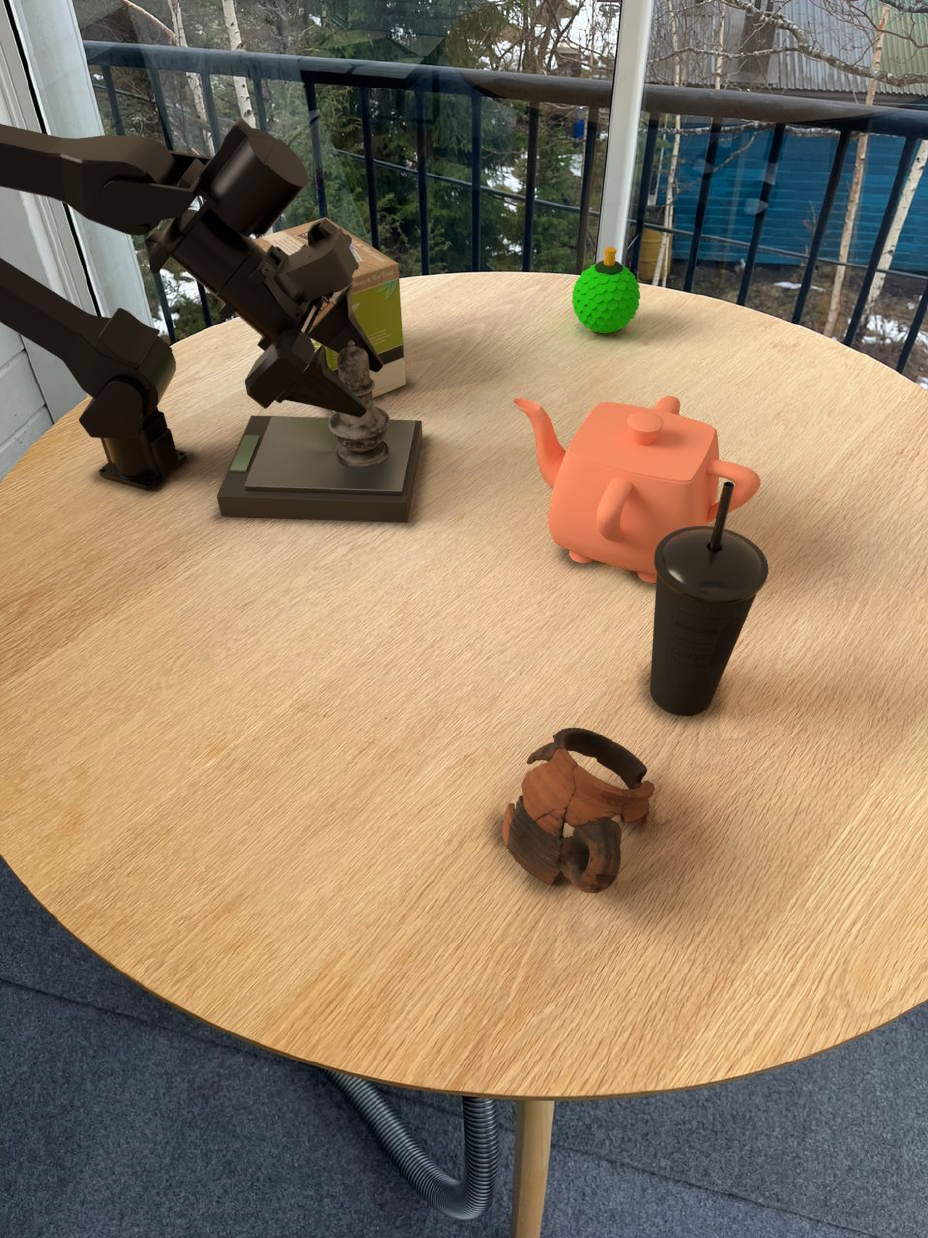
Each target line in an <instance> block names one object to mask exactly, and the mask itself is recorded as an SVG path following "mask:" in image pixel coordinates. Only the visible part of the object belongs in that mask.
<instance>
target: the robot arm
mask: <svg viewBox="0 0 928 1238" xmlns="http://www.w3.org/2000/svg"><path fill="white" fill-rule="evenodd" d="M309 179H310V176H309V174H308V171H307V169H306V167H305V165H304V163H303V161H302V160H301V159H300V157H299V156H298V155H297V154H296V152H295V151H294V150H293V149H292V148H291V147H290V146H289V145H288V144H287V143H286V142H285V141H284V140H283V139H282V138H279V139H277V138H276V137H275V136H274V135H272V134H270V133H269V132H267V131H265V130H262V129H260V128H255V127H252V126H251V125H250V124H249V123H248V122H247V121H246V120H245V119H244V118H242V117H241V118H238V119H237V120H236V121H235V122H234V124H232V126H231V128H230V129H229V131H228V132H227V134H226V135H225V136H224V139H223V140H222V144H221V146H220V147H219V149H218V150H217V151H216V152H215V153H214V155H213V156H207V155H200V154H194V153H187V152H182V151H176V150H170V149H169V150H168V147H167V146H165V145H164V144H163V143H161V142H159V141H158V140H156V139H153V138H151V137H148V136H141V135H140V136H137V135H116V134H115V135H114V134H103V135H96V136H88V137H77V138H75V137H60V136H56V135H51V134H48V133H43V132H39V131H34V130H29V129H25V128H21V127H16V126H12V125H7V124H3V123H0V188H5V189H9V190H14V191H18V192H23V193H28V194H31V195H37V196H41V197H45V198H50V199H53V200H55V201H58V202H61V203H62V204H65V205H67V206H69V207H70V208H72V209H73V210H74V211H75V212H77V213H78V214H79V215H81V216H82V217H84V218H85V219H86V220H88V221H91V222H93V223H96V224H99V225H101V226H103V227H107V228H109V229H111V230H113V231H117V232H120V233H122V234H125V235H128V236H145V235H147V234H148V233H150V234H149V235H148V236H147V237H146V238H145V239H144V245H145V247H146V249H147V250H146V251H147V255H148V265H149V267H148V268H149V272H150V273H151V274H152V275H153V274H154V275H158V274H159V273H160V271H161V270H162V269H164V267H165V266H166V264H167V263H168V262H169V260H170V259H171V260H172V261H174V263H176V264H177V265H178V266H179V267H180V268H181V269H183V270H184V271H185V272H186V273H188V274H189V275H190V276H191V277H192V278H193V279H195V281H197V282H198V283H199V284H200V285H202V286H203V288H205V289H206V290H207V291H208V292H210V293H211V294H212V295H213V296H215V298H216V299H218V300H219V301H220V302H221V303H222V304H223V305H222V307H221V308H220V310H219V311H218V313H219V314H220V315H221V316H222V317H224V318H225V319H226V320H227V321H230V319H232V318H233V316H234V315H236V316H238V317H239V318H240V319H241V320H242V321H243V322H244V323H245V324H247V325H248V326H249V327H250V328H251V329H253V330H254V331H255V332H256V333H257V334H259V336H261V337H260V339H259V341H258V343H257V346H258V347H259V348H260V349H261V350H262V351H263V353H261V354H260V355H259V357H258V358H257V359H256V360H255V362H254V363H253V365H252V367H251V368H250V370H249V372H248V374H247V375H246V377H245V379H244V385H245V392H246V396H248V397H249V398H250V399H252V400H253V401H254V402H255V403H256V404H258V405H259V406H261V408H263V409H264V410H266V409H268V408H269V407H270V406H271V405H272V404H273V403H274V401H275V402H277V403H278V404H282V403H283V402H284V401H287V402H291V403H298V404H302V405H308V406H312V407H317V408H321V409H324V410H325V409H326V410H328V411H332V412H333V411H336V412H339V413H343V414H347V415H351V416H354V417H358V418H360V417H362V416H363V415H364V414H365V413H366V412H367V408H366V406H365V405H364V404H363V403H362V402H361V400H360V399H359V398H358V397H357V396H356V395H355V394H354V393H353V392H352V391H351V390H350V389H349V388H348V386H347V385H346V384H345V383H344V382H343V381H342V380H341V379H340V378H339V377H338V376H337V375H336V374H335V373H334V372H333V371H332V370H331V369H330V368H329V366H328V363H327V357H326V351H325V346H326V347H328V348H330V349H331V350H333V351H335V352H337V353H339V352H340V351H341V350H343V349H344V348H346V347H349V345H347V343H348V342H349V341H350V340H352V341H353V342H354V343H355V345H354V346H356V347H360V348H362V349H364V350H365V351H366V353H367V355H368V360H369V370H371V371H373V372H376V373H377V372H379V371H380V370H381V369H382V368H383V362H382V360H381V359H380V357H379V356H378V354H377V352H376V351H375V349H374V347H373V346H372V344H371V342H370V341H369V339H368V338H367V336H366V334H365V333H364V331H363V329H362V328H361V326H360V324H359V322H358V321H357V319H356V317H355V315H354V313H353V309H352V291H353V286H352V284H351V282H352V280H353V277H352V276H353V274H354V271H355V270H357V269H358V267H359V264H358V263H357V261H356V259H355V257H354V255H353V254H352V252H351V250H350V248H349V247H350V245H351V243H352V238H351V237H350V236H349V235H347V234H344V233H343V231H342V229H341V228H339V229H338V228H337V227H336V226H334V225H333V224H332V223H331V222H329V221H328V220H327V219H325V218H326V217H323V218H324V219H322V218H321V219H322V220H320V221H318V222H316V223H314V224H312V225H311V227H310V229H309V231H308V232H307V237H308V246H307V245H306V244H305V245H303V246H302V247H301V249H300V250H299V251H297V252H295V253H293V254H291V255H288V254H286V253H285V252H284V251H283V250H282V249H281V248H279V247H277V246H276V247H274V246H273V245H271V246H270V248H269V249H268V250H267V251H266V252H265V251H264V250H263V249H262V248H261V247H260V246H259V245H258V244H256V243H255V242H254V241H253V240H252V239H253V238H251V237H250V236H251V235H252V234H253V235H258V236H265V234H267V233H268V232H269V231H270V230H271V229H272V227H273V226H274V225H275V223H277V222H278V220H279V219H280V218H281V217H282V215H284V213H285V212H286V211H287V209H288V208H289V207H290V206H291V205H292V204H293V203H294V201H295V200H296V199H297V198H298V196H299V195H300V194H301V193H302V192H303V190H304V189H305V188H306V187H307V186H308V184H309ZM197 197H201V198H202V199H203V200H204V202H203V203H202V204H201V206H200V207H199V209H198V210H197V209H193V208H190V207H191V205H192V204H193V203H194V201H195V200H196V198H197ZM171 219H172V220H171ZM166 220H171V222H170V223H169V224H168V226H166V228H165V229H164V230H154V229H156V228H157V227H158V226H159V225H160V224H161V222H162V221H166ZM343 289H344V291H343V292H342V293H341V292H340V291H341V290H343ZM0 323H1V324H2V325H3V326H6V327H7V328H9V329H10V330H12V331H13V332H15V333H16V334H19V335H20V336H21V337H23V338H25V339H27V340H28V341H31V342H32V343H33V344H35V345H36V346H38V347H40V348H41V349H43V350H45V351H47V353H49V354H51V355H53V356H54V357H56V358H58V359H59V360H60V361H61V362H62V363H63V364H64V365H65V366H66V368H67V370H68V371H69V373H70V374H71V375H72V377H73V378H74V379H75V381H76V382H77V384H78V385H79V387H80V389H81V390H82V391H83V392H84V393H86V394H87V395H88V396H90V397H91V399H90V401H89V402H88V404H87V406H86V407H85V408H84V410H83V412H82V413H81V415H80V416H79V418H78V422H79V424H80V425H81V426H82V428H83V429H84V430H85V432H86V433H87V435H88V436H89V437H90V438H92V439H99V440H100V442H101V444H102V448H103V451H104V455H105V456H106V460H107V463H105V465H103V466H102V467H100V468H99V469H98V475H99V476H100V477H102V478H105V479H109V480H111V481H115V482H118V483H122V484H125V485H129V486H132V487H136V488H138V489H142V490H145V491H147V490H148V491H150V490H153V489H154V488H155V487H156V486H157V485H158V484H160V483H161V482H162V481H163V480H164V479H165V478H166V477H167V476H168V475H170V474H171V473H172V472H173V471H174V470H175V469H176V468H178V467H179V466H180V465H181V464H182V463H183V462H184V461H185V460H186V459H187V458H188V454H187V452H186V451H184V450H180V449H177V448H176V444H175V440H174V436H173V433H172V430H171V428H169V426H168V422H167V419H166V416H165V412H163V411H161V410H159V404H160V402H161V400H162V399H163V397H164V395H165V393H166V391H167V389H168V387H169V386H170V384H171V382H172V380H173V378H174V376H175V375H176V371H177V360H176V358H175V355H174V351H173V348H172V347H171V346H170V344H169V343H168V342H167V341H166V340H165V339H163V338H162V337H161V336H159V335H160V333H161V330H160V329H159V328H155V327H153V326H150V325H147V324H145V323H143V322H142V321H140V319H138V318H137V317H136V316H135V315H133V313H131V312H130V311H128V310H126V309H124V308H122V307H118V308H116V310H115V312H114V313H113V315H112V316H111V317H107V316H102V315H101V316H100V315H95V314H92V313H89V312H87V311H85V310H84V309H82V308H80V307H79V306H77V305H75V304H74V303H73V302H71V301H69V300H68V299H66V298H65V297H63V296H62V295H60V294H59V293H57V292H55V291H54V290H52V289H50V288H49V287H47V286H46V285H44V284H43V283H41V282H39V281H38V280H36V279H35V278H34V277H32V276H30V275H28V274H27V273H25V272H24V271H22V270H21V269H19V268H17V267H16V266H14V265H13V264H11V263H9V261H7V260H5V259H3V258H2V257H0ZM310 338H311V339H313V340H315V341H317V342H318V343H320V344H322V345H321V346H320V347H319V348H318V349H317V350H316V351H315V347H314V345H313V343H312V341H311V339H310Z"/></svg>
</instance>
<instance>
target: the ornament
mask: <svg viewBox="0 0 928 1238" xmlns="http://www.w3.org/2000/svg"><path fill="white" fill-rule="evenodd" d="M617 251H618V249H616V248H615V247H609V246H608V247H605V248H604V260H600V261H598V262H597V263H595V264H592V265H590V266H589V268H587V269H585V270H584V271H582V272H581V273H580V276H579V277H578V278H577V279H576V281H575V283H574V286H573V290H572V292H571V293H572V294H571V296H572V300H571V304H572V308H573V312H574V314H575V316H576V317H577V319H578V321H579V323H581V324H582V325H583V326H584V327H585V328H586V329H589V330H590V331H592V332H595V333H600V334H609V333H613V332H617V331H619V330H620V329H622V328H625V327H626V326H628V324H629V323H630V322H631V320H634V317H635V316H636V313H637V311H638V310H639V308H640V307H639V306H640V299H641V292H640V284H639V282H638V281H637V279H636V276H635V274H634V273H632V272H631V271H630V270H629V268H628V267H626V266H624V265H623V264H622V263H620V262H619V261H617V260H616V256H615V255H616V254H617Z"/></svg>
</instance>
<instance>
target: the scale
mask: <svg viewBox="0 0 928 1238" xmlns="http://www.w3.org/2000/svg"><path fill="white" fill-rule="evenodd" d="M272 416H273V417H287V416H285V415H284V416H281V415H280V416H279V415H250V417H249V419H248V421H247V424H246V426H245V429H244V431H243V434H242V436H241V438H240V441H239V443H238V445H237V448H236V450H235V452H234V455H233V457H232V460H231V462H230V464H229V467H228V469H227V471H226V474H225V475H224V477H223V481H222V483H221V485H220V487H219V491H218V492H217V495H216V499H217V504H218V508H219V512H220V516H221V517H233V518H234V517H237V518H238V517H239V518H261V519H262V518H264V519H265V518H266V519H290V520H291V519H293V520H319V521H320V520H321V521H322V520H323V521H346V522H347V521H348V522H349V521H350V522H373V523H375V522H376V523H377V522H378V523H405V524H408V522H409V519H410V518H409V517H410V512H411V506H412V502H413V496H414V490H415V485H416V478H417V473H418V469H419V464H420V456H421V453H422V447H423V441H424V439H423V438H424V437H423V421H422V420H419V419H409V420H410V421H416V427H415V432H414V438H413V443H412V448H411V453H410V458H409V463H408V468H407V473H406V479H405V484H404V489H403V494H402V496H396V495H366V494H337V493H308V492H278V491H249V490H245V487H244V485H245V482H246V480H247V477H248V475H249V472H250V470H251V467H252V465H253V462H254V460H255V457H256V455H257V452H258V450H259V447H260V445H261V442H262V440H263V437H264V435H265V432H266V430H267V427H268V425H269V422H270V420H271V417H272ZM306 417H307V418H322V416H321V417H319V416H318V417H317V416H316V417H315V416H306Z"/></svg>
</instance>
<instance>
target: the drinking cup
mask: <svg viewBox="0 0 928 1238" xmlns="http://www.w3.org/2000/svg"><path fill="white" fill-rule="evenodd" d="M734 486H735V483H734V482H732V481H724V482H723V484H722V489H721V493H720V498H719V501H720V502H719V501H718V502H719V506H718V511H717V515H716V519H715V520H714V523H713V526H712V525H708V526H691V527H686V528H682V529H679V530H676V531H674V532H672V533H670V534H668V535H667V536H666V537H664V538H663V539H662V540H661V541H660V543H659V544H658V546H657V548H656V550H655V555H654V565H655V569H656V572H657V578H656V583H655V594H654V595H655V596H654V597H655V598H654V613H653V616H654V617H653V631H652V646H651V647H652V648H651V662H650V681H649V693H650V696H651V699H652V701H653V702H654V703H655V705H656V706H658V707H659V708H660V709H662V710H663V711H665V712H667V713H669V714H671V715H675V716H678V717H679V716H680V717H692V716H696V715H699V714H701V713H703V712H705V711H706V710H707V709H709V707H710V705H711V704H712V702H713V699H714V697H715V694H716V692H717V690H718V687H719V685H720V683H721V680H722V677H723V675H724V673H725V671H726V667H727V666H728V664H729V661H730V658H731V656H732V654H733V651H734V649H735V647H736V644H737V642H738V639H739V637H740V635H741V632H742V631H743V629H744V628H743V627H744V626H745V623H746V621H747V618H748V615H749V613H750V611H751V609H752V607H753V604H754V602H755V599H756V597H757V594H758V593H759V592H760V591H761V590H762V589H763V588H764V586H765V585H766V582H767V580H768V577H769V574H770V573H769V572H770V568H769V562H768V559H767V557H766V555H765V553H764V552H763V550H762V549H761V548H760V547H759V546H758V545H757V544H756V543H755V542H754V541H752V540H751V539H749V538H748V537H746V536H745V535H742V534H740V533H738V532H736V531H733V530H731V529H727V528H725V527H726V523H727V519H728V515H729V513H728V510H729V506H730V502H731V498H732V493H733V489H734Z"/></svg>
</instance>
